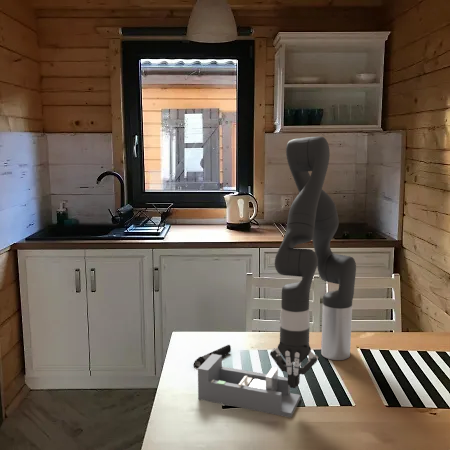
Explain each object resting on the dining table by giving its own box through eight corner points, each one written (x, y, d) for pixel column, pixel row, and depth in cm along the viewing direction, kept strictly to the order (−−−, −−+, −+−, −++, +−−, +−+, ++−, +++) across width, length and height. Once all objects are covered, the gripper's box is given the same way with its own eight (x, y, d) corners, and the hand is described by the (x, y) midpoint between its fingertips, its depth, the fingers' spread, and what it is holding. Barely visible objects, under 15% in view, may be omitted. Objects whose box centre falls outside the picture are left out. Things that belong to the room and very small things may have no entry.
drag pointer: (245, 388, 150) (246, 370, 149) (252, 389, 149) (252, 371, 148) (235, 402, 142) (235, 383, 141) (242, 403, 141) (243, 385, 140)
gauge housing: (212, 382, 156) (212, 353, 154) (300, 399, 146) (301, 368, 145) (198, 399, 147) (197, 368, 145) (291, 417, 137) (291, 385, 136)
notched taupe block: (254, 389, 149) (254, 364, 147) (277, 394, 146) (277, 367, 145) (247, 400, 143) (247, 373, 142) (271, 404, 141) (271, 377, 139)
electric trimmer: (233, 355, 175) (234, 345, 175) (201, 370, 164) (201, 360, 163) (225, 351, 178) (225, 342, 177) (192, 367, 166) (192, 357, 166)
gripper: (323, 322, 139) (321, 384, 142) (273, 316, 143) (273, 376, 147) (317, 333, 132) (315, 397, 135) (265, 326, 137) (265, 388, 140)
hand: (293, 386), depth 141 cm, fingers closed
